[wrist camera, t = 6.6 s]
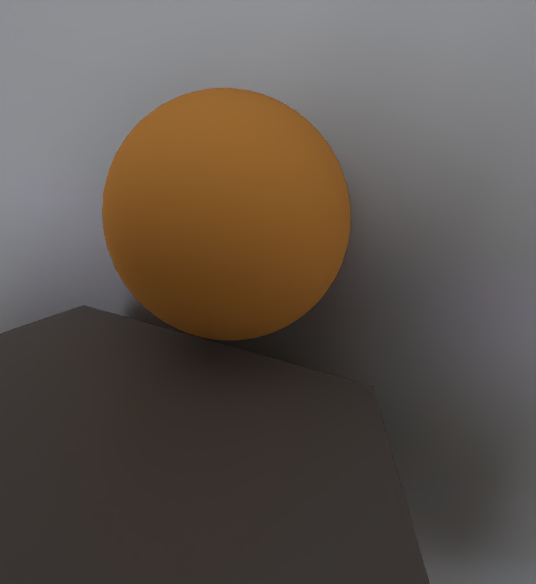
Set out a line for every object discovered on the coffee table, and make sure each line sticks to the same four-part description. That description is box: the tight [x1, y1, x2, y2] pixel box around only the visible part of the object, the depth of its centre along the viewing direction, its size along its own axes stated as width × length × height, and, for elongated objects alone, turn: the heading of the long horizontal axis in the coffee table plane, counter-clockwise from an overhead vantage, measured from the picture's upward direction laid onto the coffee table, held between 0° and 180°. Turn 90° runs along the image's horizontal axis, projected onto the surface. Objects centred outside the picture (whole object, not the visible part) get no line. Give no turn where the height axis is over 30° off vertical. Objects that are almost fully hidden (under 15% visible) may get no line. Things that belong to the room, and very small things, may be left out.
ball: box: [102, 88, 351, 340], centre depth 7 cm, size 5×5×5 cm
